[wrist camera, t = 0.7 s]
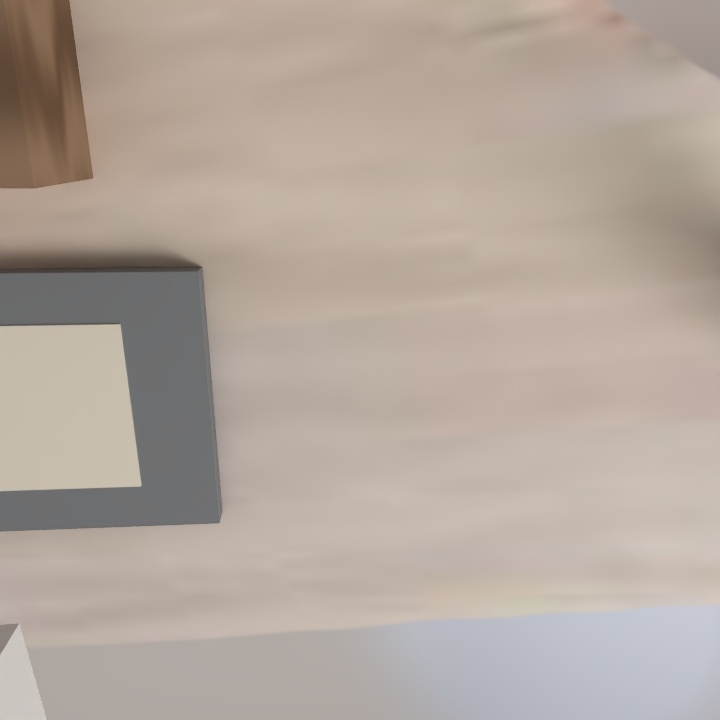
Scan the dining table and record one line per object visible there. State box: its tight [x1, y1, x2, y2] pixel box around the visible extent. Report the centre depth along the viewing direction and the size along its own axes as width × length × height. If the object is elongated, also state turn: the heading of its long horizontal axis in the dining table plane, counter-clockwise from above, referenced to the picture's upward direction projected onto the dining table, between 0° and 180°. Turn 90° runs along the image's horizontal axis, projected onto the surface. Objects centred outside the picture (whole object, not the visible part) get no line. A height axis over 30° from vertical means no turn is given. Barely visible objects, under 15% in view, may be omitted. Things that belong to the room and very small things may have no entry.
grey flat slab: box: [0, 267, 222, 531], centre depth 34 cm, size 15×18×1 cm
